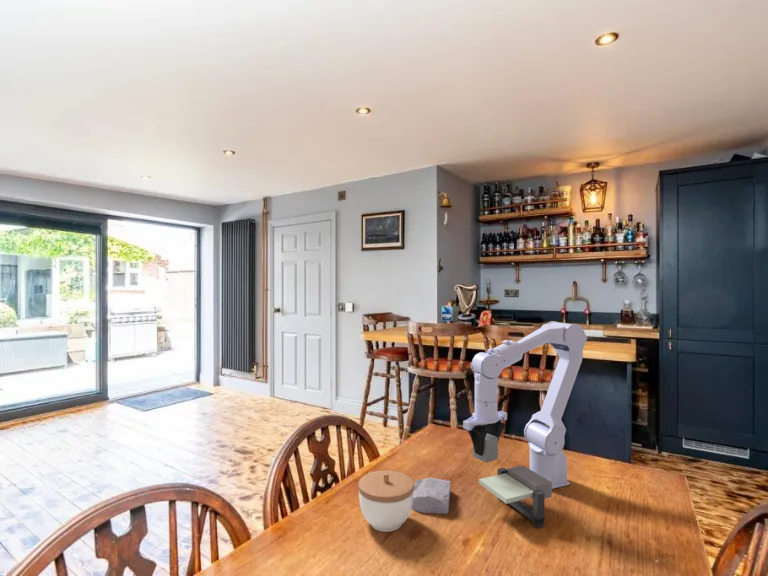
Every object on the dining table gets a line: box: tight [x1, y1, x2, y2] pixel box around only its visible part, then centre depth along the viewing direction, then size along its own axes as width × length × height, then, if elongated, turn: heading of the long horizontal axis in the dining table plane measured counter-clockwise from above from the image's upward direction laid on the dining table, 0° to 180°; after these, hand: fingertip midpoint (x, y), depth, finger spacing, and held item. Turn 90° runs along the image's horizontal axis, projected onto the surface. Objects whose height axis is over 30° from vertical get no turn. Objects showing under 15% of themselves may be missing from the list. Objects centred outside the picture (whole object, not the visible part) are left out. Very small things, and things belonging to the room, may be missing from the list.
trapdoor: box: [478, 465, 553, 505], centre depth 97 cm, size 13×10×3 cm
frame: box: [496, 467, 545, 529], centre depth 98 cm, size 2×14×8 cm, turn 23°
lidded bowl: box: [357, 469, 415, 533], centre depth 93 cm, size 13×13×11 cm
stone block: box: [412, 477, 452, 515], centre depth 103 cm, size 12×5×10 cm
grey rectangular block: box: [472, 433, 499, 463], centre depth 107 cm, size 4×4×6 cm
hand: (485, 451), depth 107 cm, fingers closed on grey rectangular block, 4 cm apart
